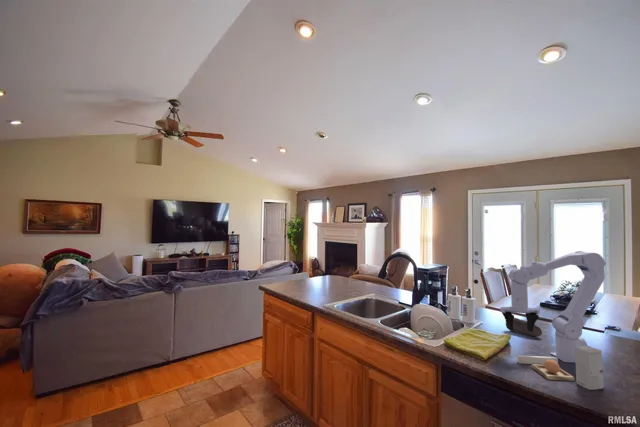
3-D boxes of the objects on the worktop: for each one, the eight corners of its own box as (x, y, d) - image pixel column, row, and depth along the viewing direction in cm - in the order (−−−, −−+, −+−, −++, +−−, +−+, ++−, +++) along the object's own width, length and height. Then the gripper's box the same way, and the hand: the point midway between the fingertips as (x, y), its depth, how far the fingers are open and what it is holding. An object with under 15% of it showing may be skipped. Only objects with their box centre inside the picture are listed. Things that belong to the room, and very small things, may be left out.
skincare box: (590, 390, 92) (589, 352, 93) (575, 383, 97) (573, 346, 97) (604, 388, 94) (603, 350, 94) (589, 381, 98) (587, 345, 99)
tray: (556, 368, 107) (556, 365, 107) (574, 380, 98) (574, 377, 98) (531, 367, 107) (531, 364, 107) (547, 379, 99) (547, 375, 99)
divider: (555, 363, 111) (555, 357, 111) (558, 365, 109) (557, 358, 110) (517, 361, 112) (517, 355, 112) (519, 363, 111) (519, 356, 111)
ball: (551, 369, 105) (551, 357, 105) (563, 375, 101) (563, 362, 101) (541, 369, 105) (540, 357, 105) (552, 376, 100) (552, 363, 100)
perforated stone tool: (544, 337, 138) (543, 323, 138) (540, 340, 134) (539, 325, 135) (509, 328, 150) (508, 315, 150) (504, 330, 147) (504, 316, 147)
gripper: (531, 296, 124) (532, 327, 123) (496, 294, 126) (497, 326, 125) (542, 300, 117) (543, 333, 116) (505, 298, 119) (506, 332, 118)
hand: (520, 330), depth 120 cm, fingers open, 7 cm apart
